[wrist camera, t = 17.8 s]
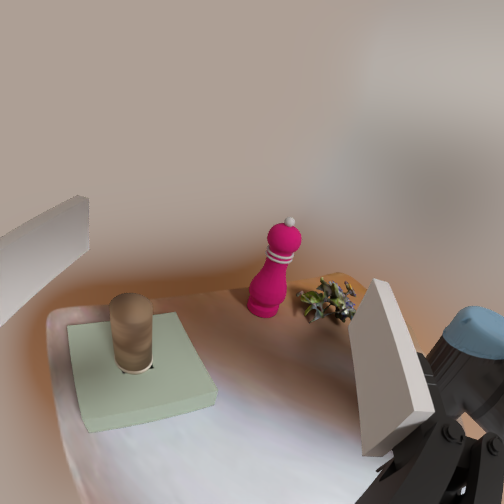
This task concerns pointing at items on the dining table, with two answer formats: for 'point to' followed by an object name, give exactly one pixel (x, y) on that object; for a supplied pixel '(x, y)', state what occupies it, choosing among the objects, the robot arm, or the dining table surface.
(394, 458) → the robot arm
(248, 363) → the dining table surface
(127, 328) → the walnut peg
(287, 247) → the pepper mill
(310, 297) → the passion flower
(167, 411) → the sage board
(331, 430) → the dining table surface
